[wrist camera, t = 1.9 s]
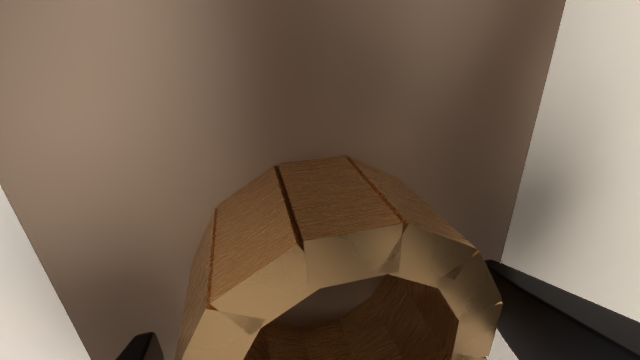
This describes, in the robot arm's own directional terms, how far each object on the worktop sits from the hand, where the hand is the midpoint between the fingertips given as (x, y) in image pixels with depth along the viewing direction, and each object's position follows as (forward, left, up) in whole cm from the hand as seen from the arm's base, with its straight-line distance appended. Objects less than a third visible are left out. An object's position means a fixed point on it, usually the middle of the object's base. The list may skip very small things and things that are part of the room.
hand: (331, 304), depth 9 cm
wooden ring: (0, 0, -2) cm, 2 cm away
